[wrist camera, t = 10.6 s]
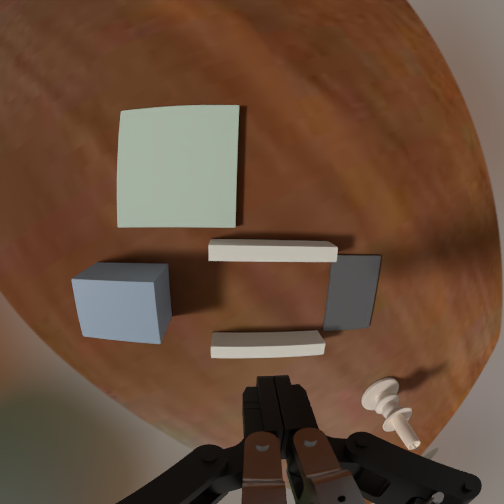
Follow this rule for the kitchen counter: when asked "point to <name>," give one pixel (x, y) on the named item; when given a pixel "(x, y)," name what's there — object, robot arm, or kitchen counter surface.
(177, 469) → the robot arm
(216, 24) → the kitchen counter surface
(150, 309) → the block
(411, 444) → the white ringed tapered column
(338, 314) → the channel
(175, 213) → the tile
